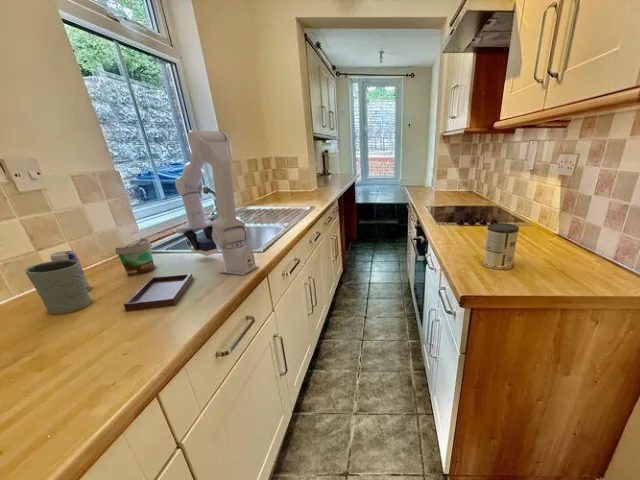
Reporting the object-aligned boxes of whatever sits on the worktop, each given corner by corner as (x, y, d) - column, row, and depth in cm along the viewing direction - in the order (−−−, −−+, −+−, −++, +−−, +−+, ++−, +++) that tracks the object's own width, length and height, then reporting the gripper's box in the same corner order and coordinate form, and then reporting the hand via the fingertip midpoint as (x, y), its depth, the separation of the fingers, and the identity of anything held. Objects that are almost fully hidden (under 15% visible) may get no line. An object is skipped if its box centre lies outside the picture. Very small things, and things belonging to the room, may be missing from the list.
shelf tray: (193, 278, 104) (191, 273, 103) (174, 305, 87) (172, 298, 86) (153, 282, 101) (151, 277, 101) (125, 311, 84) (123, 304, 83)
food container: (142, 277, 106) (132, 248, 102) (124, 277, 106) (113, 248, 102) (166, 264, 117) (158, 238, 113) (150, 264, 117) (141, 238, 113)
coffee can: (487, 258, 122) (492, 221, 116) (515, 263, 117) (521, 225, 111) (478, 266, 114) (483, 227, 108) (508, 271, 109) (515, 231, 103)
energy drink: (94, 289, 97) (79, 251, 92) (74, 296, 93) (56, 257, 88) (83, 286, 99) (67, 249, 94) (62, 293, 94) (44, 255, 89)
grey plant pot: (56, 302, 89) (37, 262, 84) (101, 296, 93) (84, 257, 88) (37, 318, 81) (14, 275, 76) (87, 311, 84) (68, 269, 79)
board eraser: (218, 252, 121) (215, 240, 119) (206, 255, 117) (203, 243, 115) (203, 247, 127) (200, 236, 125) (191, 250, 123) (188, 238, 121)
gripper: (208, 208, 123) (216, 242, 129) (168, 214, 113) (179, 251, 118) (218, 210, 120) (226, 244, 125) (178, 216, 109) (188, 254, 114)
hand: (204, 248), depth 121 cm, fingers closed on board eraser, 5 cm apart
